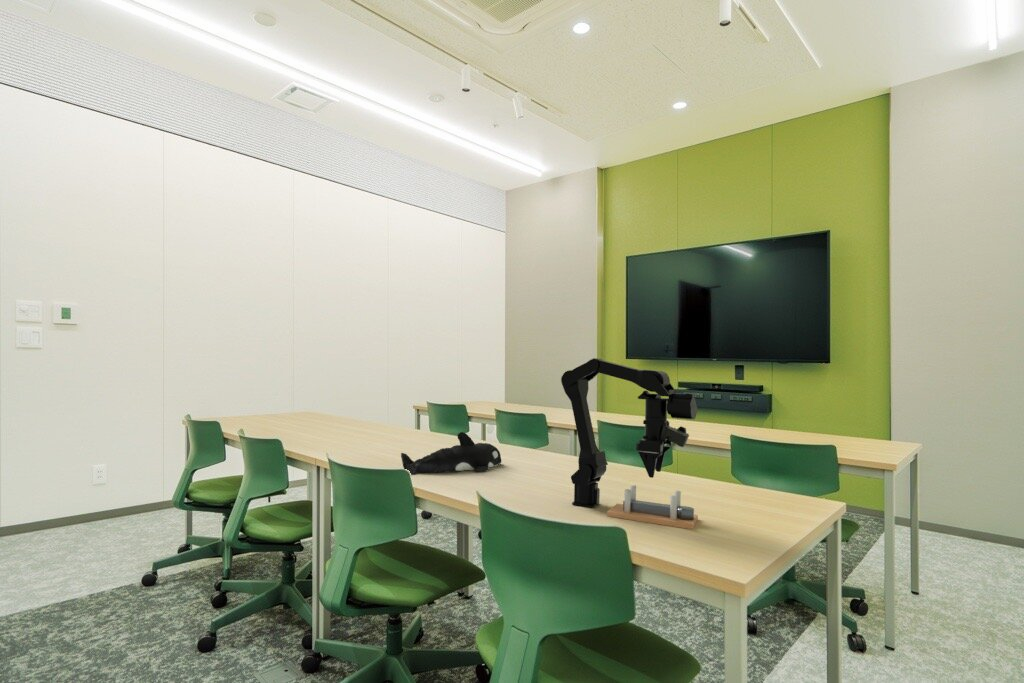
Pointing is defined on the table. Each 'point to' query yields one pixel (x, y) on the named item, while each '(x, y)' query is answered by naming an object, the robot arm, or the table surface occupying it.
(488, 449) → the orca plush
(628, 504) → the peg rack
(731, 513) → the table surface
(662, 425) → the robot arm
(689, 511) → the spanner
